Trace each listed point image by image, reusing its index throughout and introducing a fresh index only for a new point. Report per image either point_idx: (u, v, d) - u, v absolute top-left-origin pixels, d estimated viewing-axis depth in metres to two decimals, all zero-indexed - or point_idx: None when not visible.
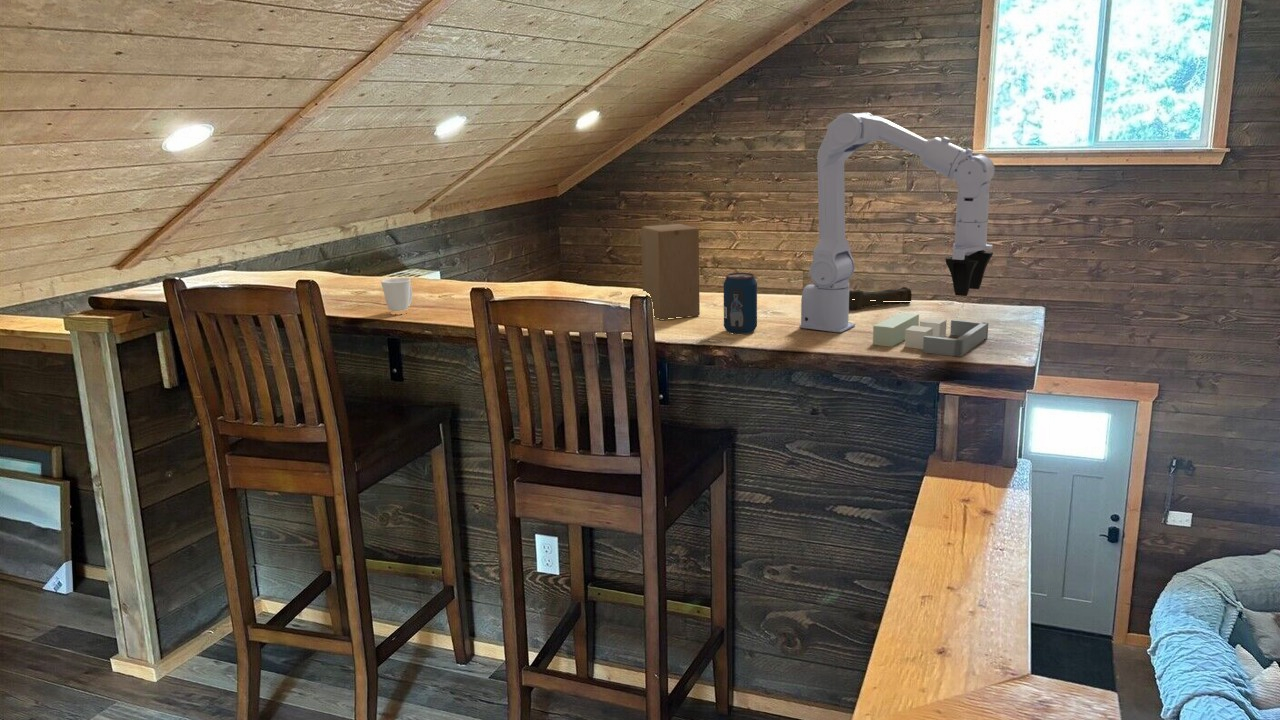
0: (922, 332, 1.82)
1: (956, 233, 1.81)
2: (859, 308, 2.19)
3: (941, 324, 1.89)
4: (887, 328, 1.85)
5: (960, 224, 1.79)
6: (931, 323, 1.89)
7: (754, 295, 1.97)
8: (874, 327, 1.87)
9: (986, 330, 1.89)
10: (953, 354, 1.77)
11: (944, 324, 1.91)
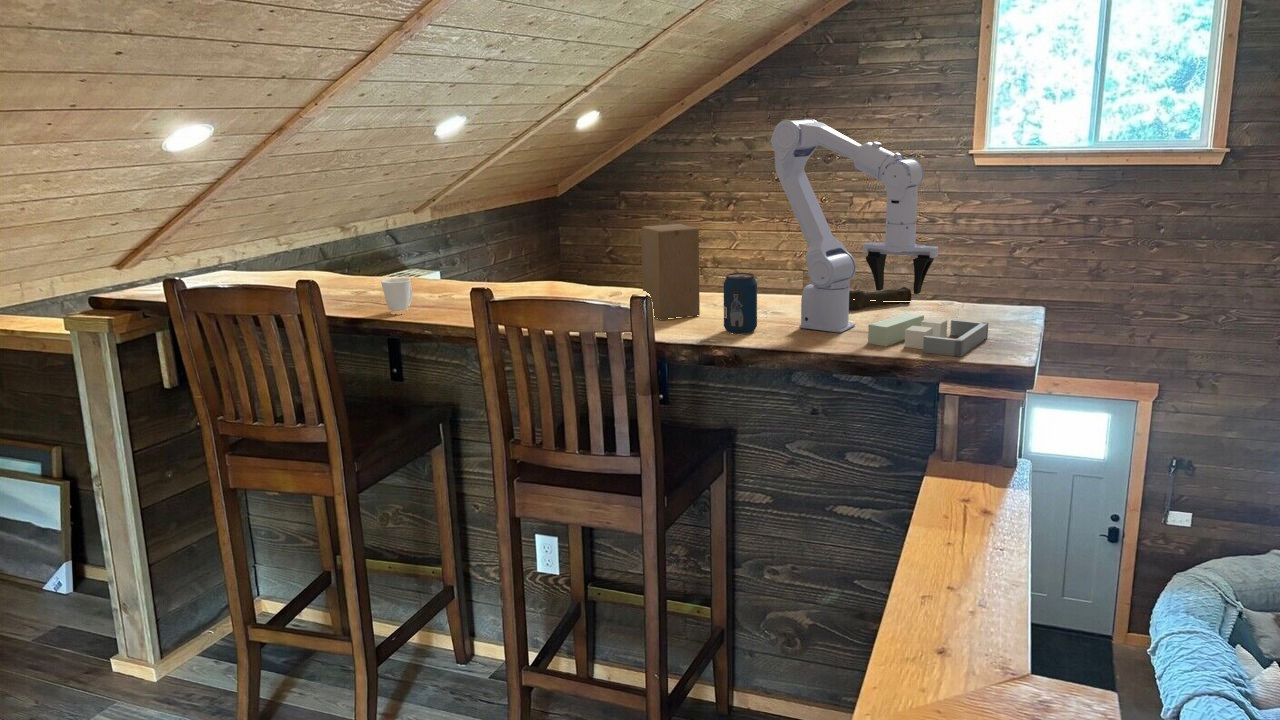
0: (922, 332, 1.82)
1: None
2: (860, 308, 2.19)
3: (942, 324, 1.89)
4: (881, 327, 1.86)
5: None
6: (932, 323, 1.89)
7: (754, 295, 1.97)
8: (869, 326, 1.88)
9: (986, 330, 1.89)
10: (953, 354, 1.77)
11: (945, 324, 1.91)
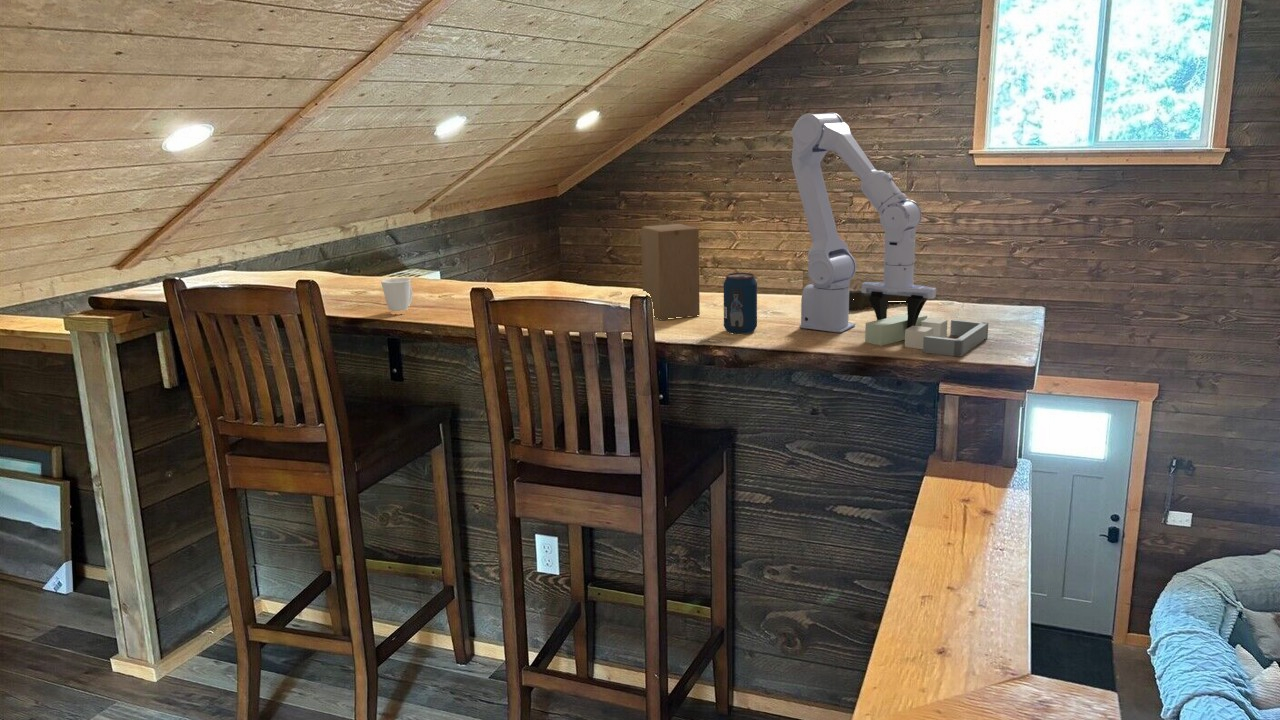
0: (922, 332, 1.82)
1: None
2: (860, 308, 2.18)
3: (942, 324, 1.89)
4: (877, 326, 1.86)
5: None
6: (932, 323, 1.89)
7: (754, 295, 1.97)
8: (866, 324, 1.89)
9: (986, 330, 1.89)
10: (953, 354, 1.77)
11: (945, 324, 1.91)
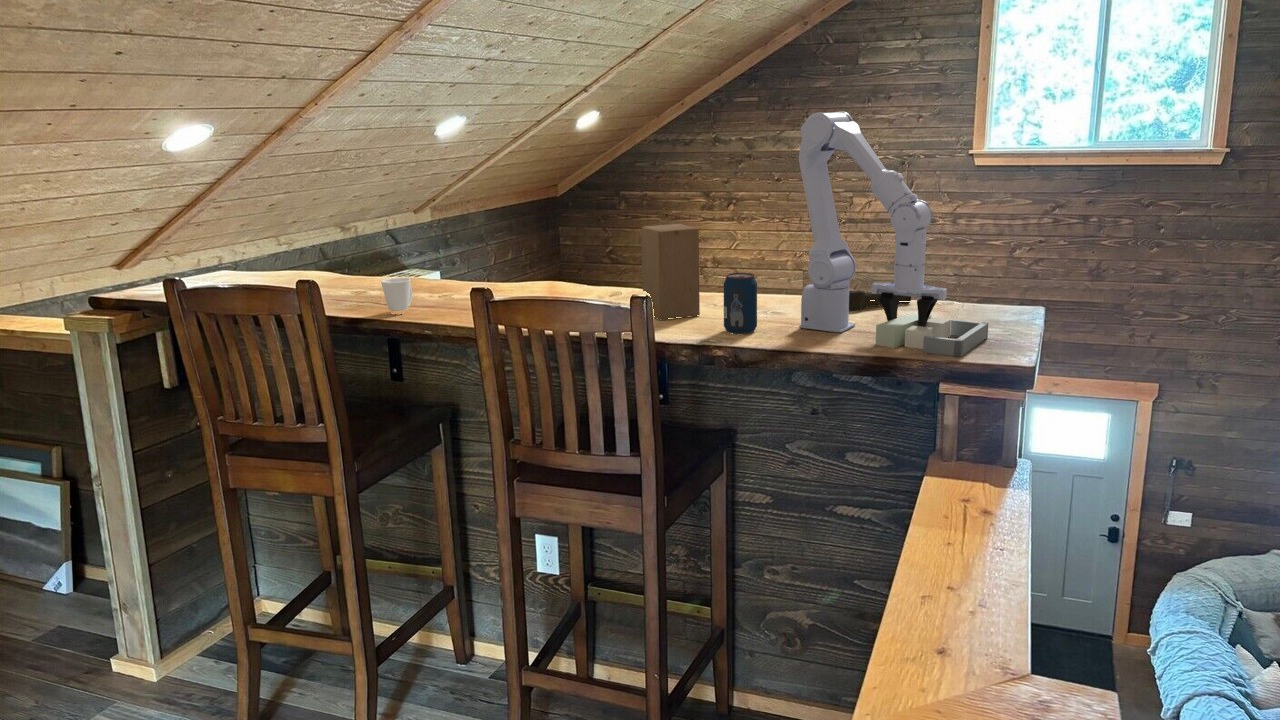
0: (922, 332, 1.82)
1: None
2: (861, 308, 2.18)
3: (944, 324, 1.89)
4: (889, 328, 1.84)
5: None
6: (934, 323, 1.89)
7: (754, 295, 1.97)
8: (877, 326, 1.86)
9: (986, 330, 1.89)
10: (953, 354, 1.77)
11: (948, 324, 1.90)
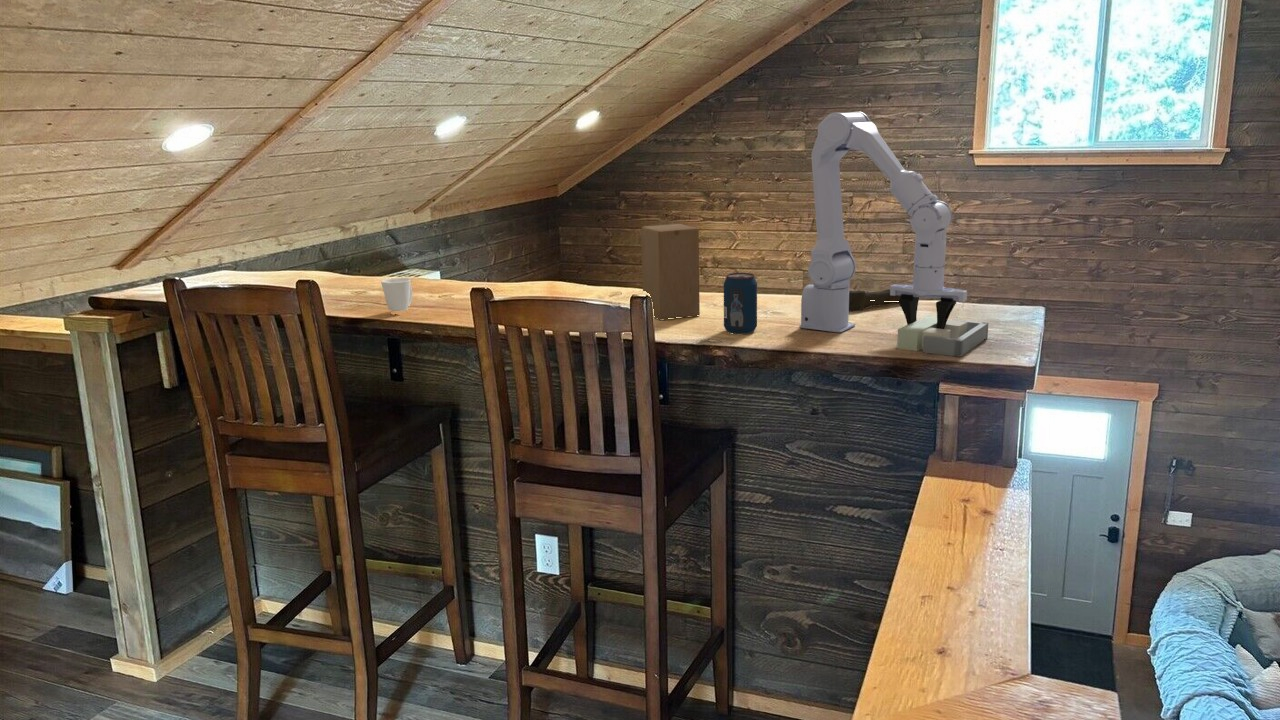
0: (938, 334, 1.80)
1: None
2: (862, 308, 2.18)
3: (961, 326, 1.87)
4: (912, 332, 1.82)
5: None
6: (951, 325, 1.87)
7: (754, 295, 1.97)
8: (899, 331, 1.83)
9: (986, 330, 1.89)
10: (953, 354, 1.77)
11: (964, 326, 1.88)
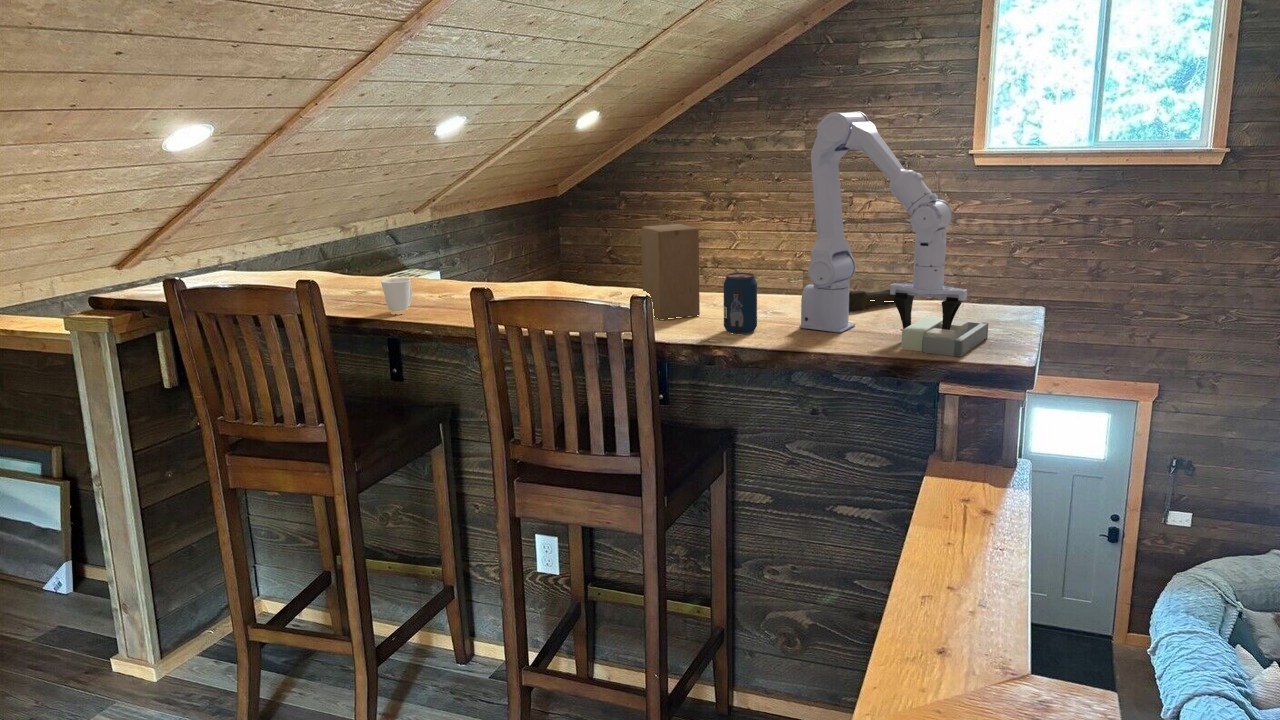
0: (943, 335, 1.80)
1: None
2: (863, 309, 2.18)
3: (962, 326, 1.87)
4: (916, 332, 1.81)
5: None
6: (952, 325, 1.87)
7: (754, 295, 1.97)
8: (903, 331, 1.83)
9: (986, 330, 1.89)
10: (953, 354, 1.77)
11: (965, 326, 1.88)
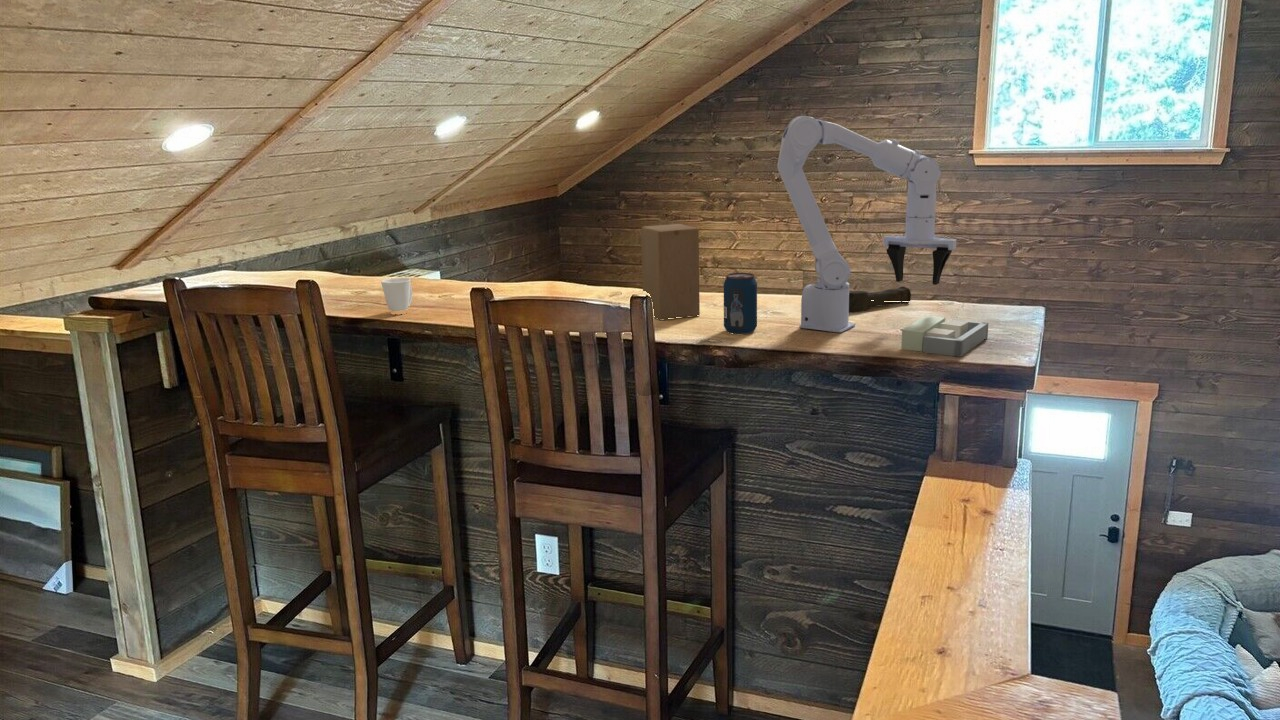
0: (943, 335, 1.80)
1: None
2: (864, 309, 2.17)
3: (962, 326, 1.87)
4: (916, 332, 1.81)
5: None
6: (952, 325, 1.87)
7: (754, 295, 1.97)
8: (903, 331, 1.83)
9: (986, 330, 1.89)
10: (953, 354, 1.77)
11: (965, 326, 1.88)
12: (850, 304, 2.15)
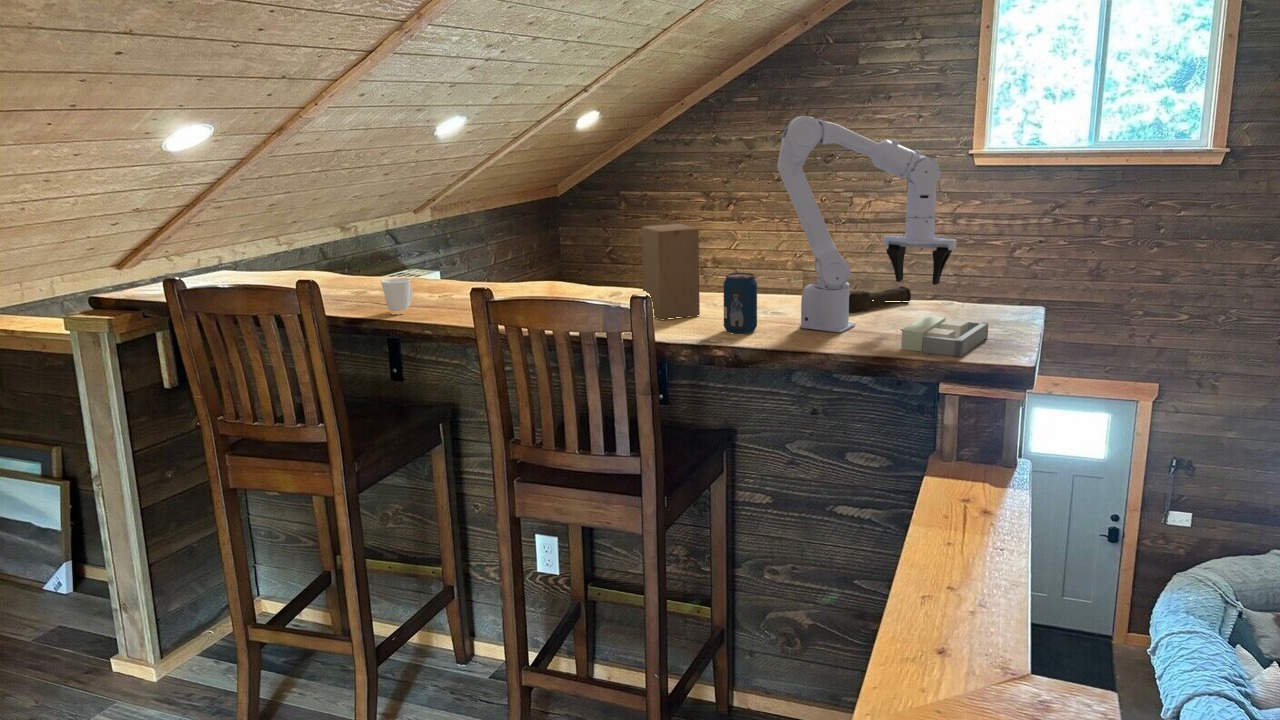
0: (943, 335, 1.80)
1: None
2: (866, 309, 2.17)
3: (962, 326, 1.87)
4: (916, 332, 1.81)
5: None
6: (952, 325, 1.87)
7: (754, 295, 1.97)
8: (903, 331, 1.83)
9: (986, 330, 1.89)
10: (953, 354, 1.77)
11: (965, 326, 1.88)
12: (852, 304, 2.15)
